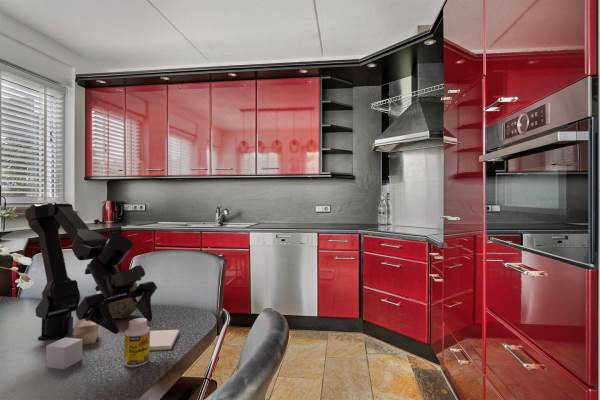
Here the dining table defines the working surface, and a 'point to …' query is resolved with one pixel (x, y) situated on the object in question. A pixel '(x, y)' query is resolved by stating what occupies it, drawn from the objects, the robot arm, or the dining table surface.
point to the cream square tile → (162, 339)
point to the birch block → (86, 331)
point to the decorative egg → (123, 307)
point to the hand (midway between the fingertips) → (135, 326)
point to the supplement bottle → (137, 343)
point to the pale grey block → (63, 353)
